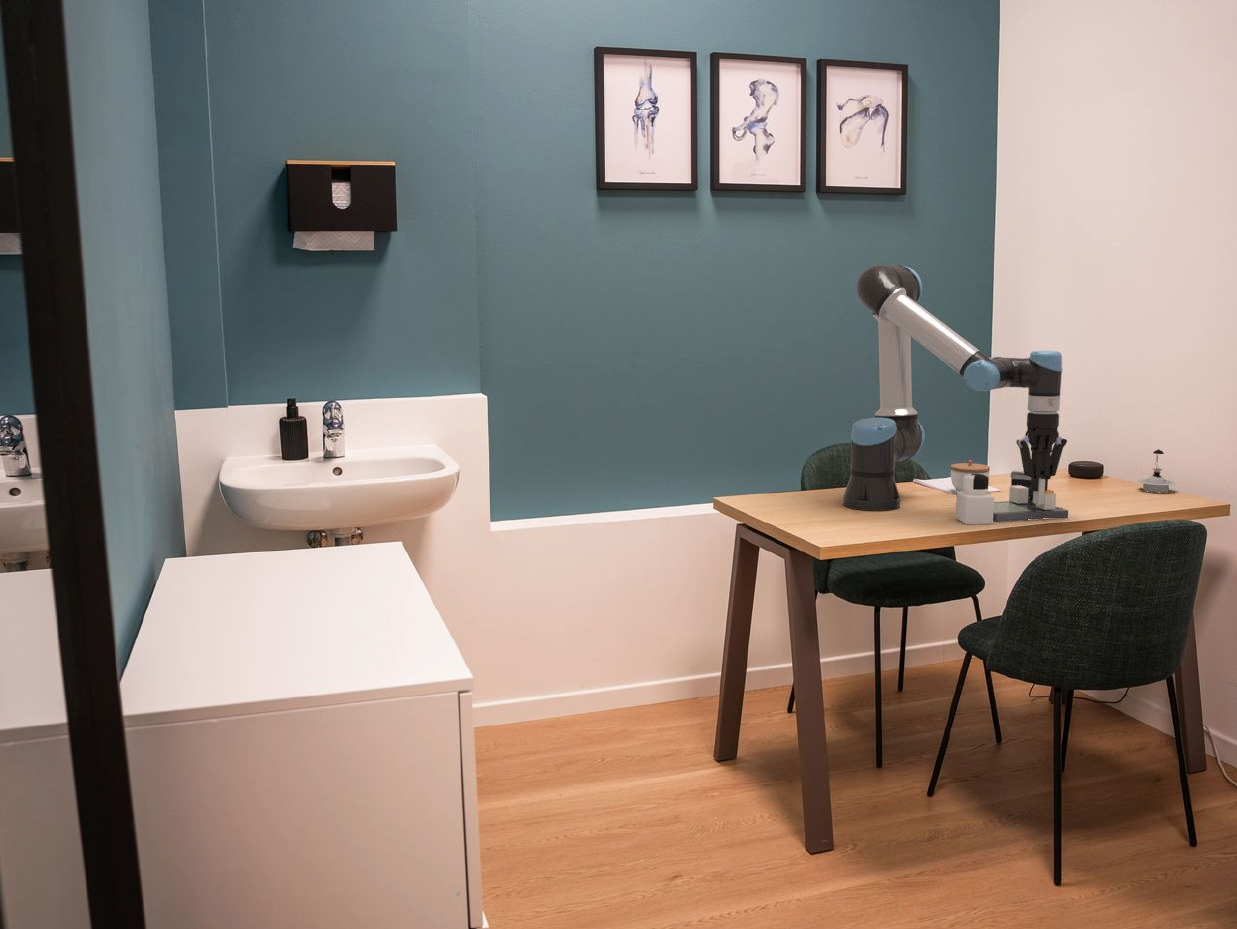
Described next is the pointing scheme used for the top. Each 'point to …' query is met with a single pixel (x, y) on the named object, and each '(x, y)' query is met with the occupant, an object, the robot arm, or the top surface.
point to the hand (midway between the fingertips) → (1038, 503)
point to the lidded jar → (966, 472)
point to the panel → (1024, 511)
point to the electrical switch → (1022, 481)
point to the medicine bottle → (975, 501)
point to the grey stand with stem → (1156, 480)
